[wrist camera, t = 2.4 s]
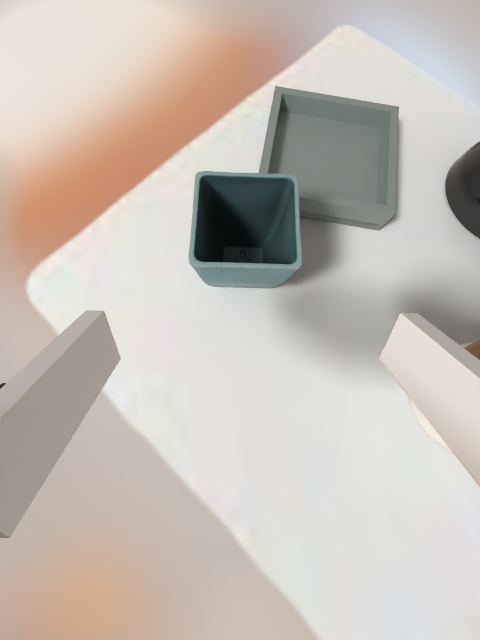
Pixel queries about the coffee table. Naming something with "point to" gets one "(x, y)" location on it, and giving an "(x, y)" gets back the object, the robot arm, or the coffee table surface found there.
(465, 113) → the coffee table surface
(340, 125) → the tray
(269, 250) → the flower pot
